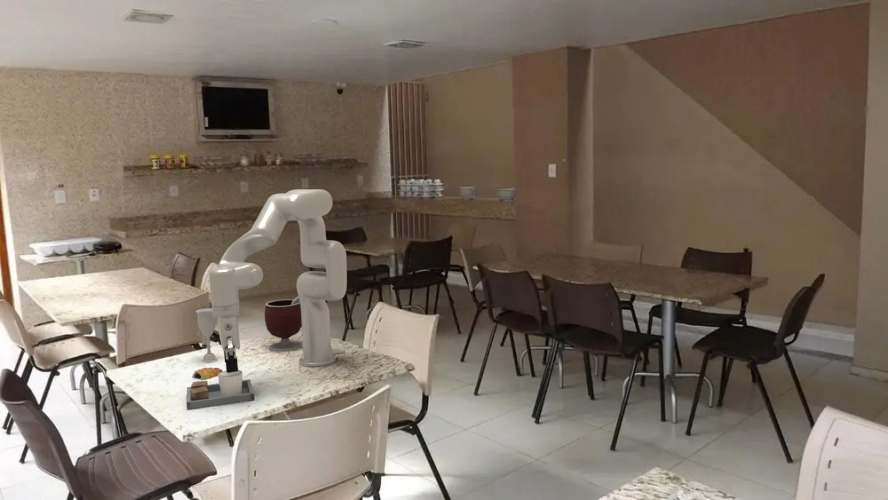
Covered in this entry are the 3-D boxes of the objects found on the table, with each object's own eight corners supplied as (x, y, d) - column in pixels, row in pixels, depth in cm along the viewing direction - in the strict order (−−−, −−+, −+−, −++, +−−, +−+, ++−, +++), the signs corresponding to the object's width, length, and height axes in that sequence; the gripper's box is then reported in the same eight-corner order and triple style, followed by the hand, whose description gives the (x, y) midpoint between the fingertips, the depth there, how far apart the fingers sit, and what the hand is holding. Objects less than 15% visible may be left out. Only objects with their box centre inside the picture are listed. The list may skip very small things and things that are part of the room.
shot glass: (235, 400, 186) (234, 377, 186) (214, 399, 188) (212, 376, 187) (248, 392, 193) (246, 369, 192) (227, 391, 195) (225, 368, 194)
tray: (250, 388, 200) (250, 379, 199) (254, 403, 187) (254, 393, 186) (187, 397, 193) (186, 387, 193) (187, 413, 180) (186, 402, 180)
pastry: (214, 373, 217) (214, 361, 216) (228, 376, 213) (227, 365, 213) (190, 381, 209) (189, 369, 209) (204, 384, 206) (203, 373, 205)
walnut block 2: (206, 399, 188) (205, 386, 187) (209, 403, 185) (208, 390, 184) (191, 402, 186) (190, 389, 185) (194, 406, 182) (193, 393, 182)
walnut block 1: (208, 393, 193) (207, 380, 193) (206, 398, 189) (205, 384, 189) (193, 394, 192) (193, 381, 192) (191, 399, 188) (190, 386, 188)
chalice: (224, 359, 232) (221, 309, 230) (208, 364, 226) (204, 313, 224) (210, 356, 236) (207, 307, 234) (194, 361, 230) (191, 311, 228)
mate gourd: (270, 354, 237) (266, 300, 235) (263, 345, 250) (260, 294, 247) (312, 348, 243) (309, 296, 241) (304, 340, 256) (301, 290, 253)
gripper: (241, 315, 181) (247, 373, 184) (237, 302, 197) (242, 356, 200) (213, 318, 179) (219, 378, 181) (211, 305, 195) (216, 360, 197)
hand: (231, 366), depth 191 cm, fingers open, 9 cm apart
